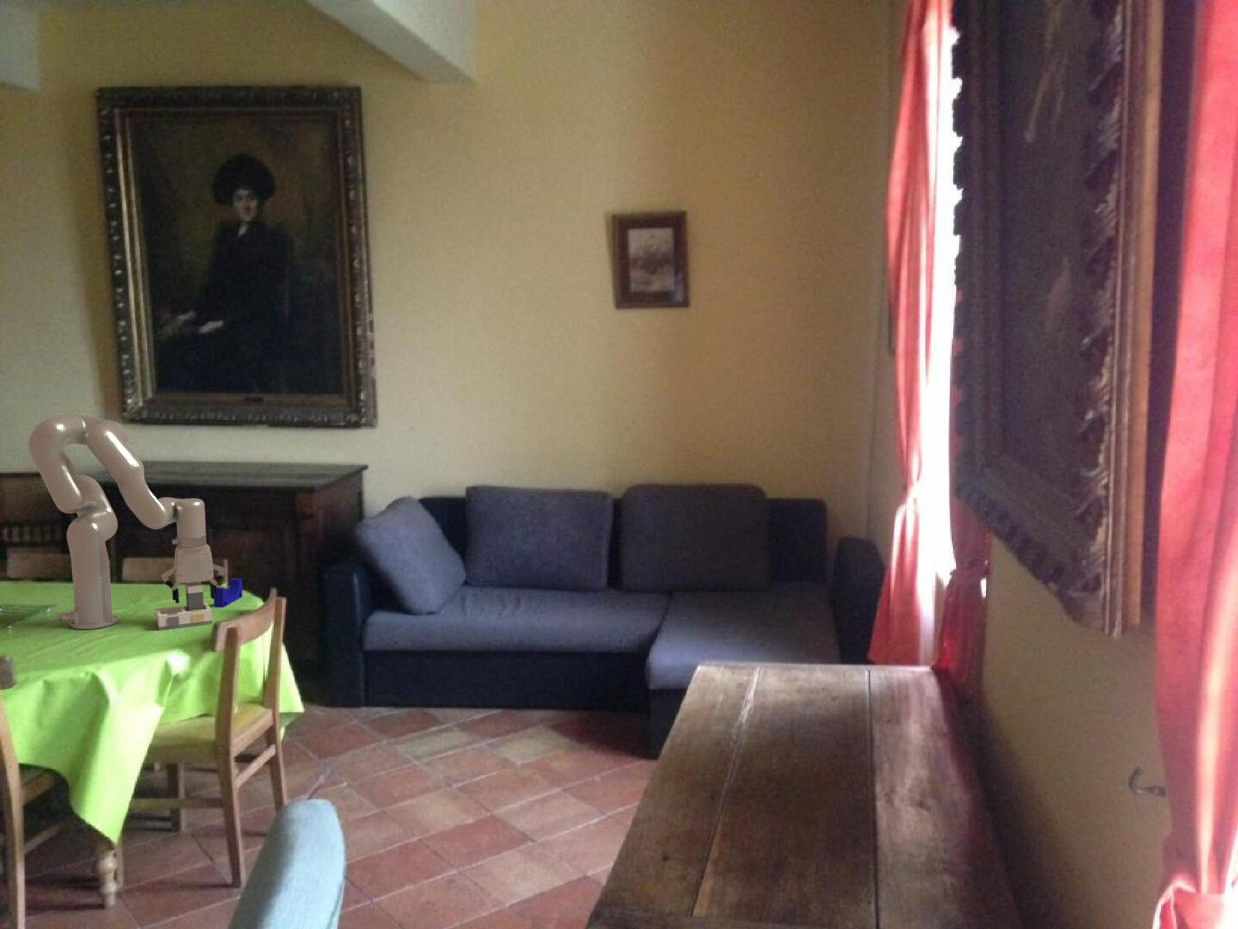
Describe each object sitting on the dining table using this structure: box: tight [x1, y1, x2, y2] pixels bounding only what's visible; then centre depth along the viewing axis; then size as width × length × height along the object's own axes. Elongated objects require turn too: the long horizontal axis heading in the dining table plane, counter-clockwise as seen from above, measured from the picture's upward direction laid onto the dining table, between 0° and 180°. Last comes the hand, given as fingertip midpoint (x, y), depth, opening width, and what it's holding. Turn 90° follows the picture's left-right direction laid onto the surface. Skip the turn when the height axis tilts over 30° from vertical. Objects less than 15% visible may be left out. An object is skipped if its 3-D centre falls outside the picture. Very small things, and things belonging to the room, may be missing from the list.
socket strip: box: [154, 602, 213, 631], centre depth 304 cm, size 14×9×4 cm, turn 119°
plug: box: [185, 581, 205, 611], centre depth 306 cm, size 4×4×10 cm
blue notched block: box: [213, 577, 243, 608], centre depth 327 cm, size 12×4×6 cm, turn 173°
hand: (195, 600), depth 306 cm, fingers open, 9 cm apart
